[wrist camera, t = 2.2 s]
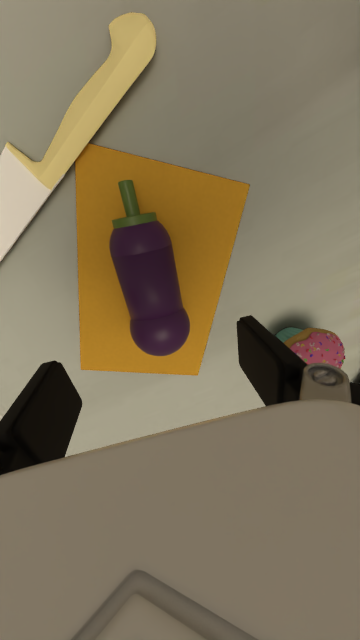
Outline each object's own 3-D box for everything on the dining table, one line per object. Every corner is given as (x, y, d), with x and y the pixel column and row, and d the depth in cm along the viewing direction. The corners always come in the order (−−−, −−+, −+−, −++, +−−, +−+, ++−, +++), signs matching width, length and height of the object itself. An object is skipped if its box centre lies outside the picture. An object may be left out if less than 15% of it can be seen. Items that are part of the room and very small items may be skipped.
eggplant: (93, 192, 19) (69, 181, 13) (162, 179, 19) (168, 163, 13) (139, 341, 26) (137, 375, 21) (188, 330, 27) (199, 361, 21)
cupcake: (257, 369, 32) (313, 445, 21) (259, 320, 28) (329, 384, 17) (310, 357, 32) (390, 427, 22) (319, 308, 28) (423, 363, 18)
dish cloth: (75, 140, 17) (74, 139, 17) (248, 184, 20) (250, 184, 20) (81, 368, 27) (80, 369, 27) (197, 374, 30) (197, 375, 30)
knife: (-101, 303, 20) (-58, 335, 21) (111, -42, 13) (163, 30, 14) (-85, 300, 22) (-44, 330, 23) (118, -16, 14) (165, 48, 15)
